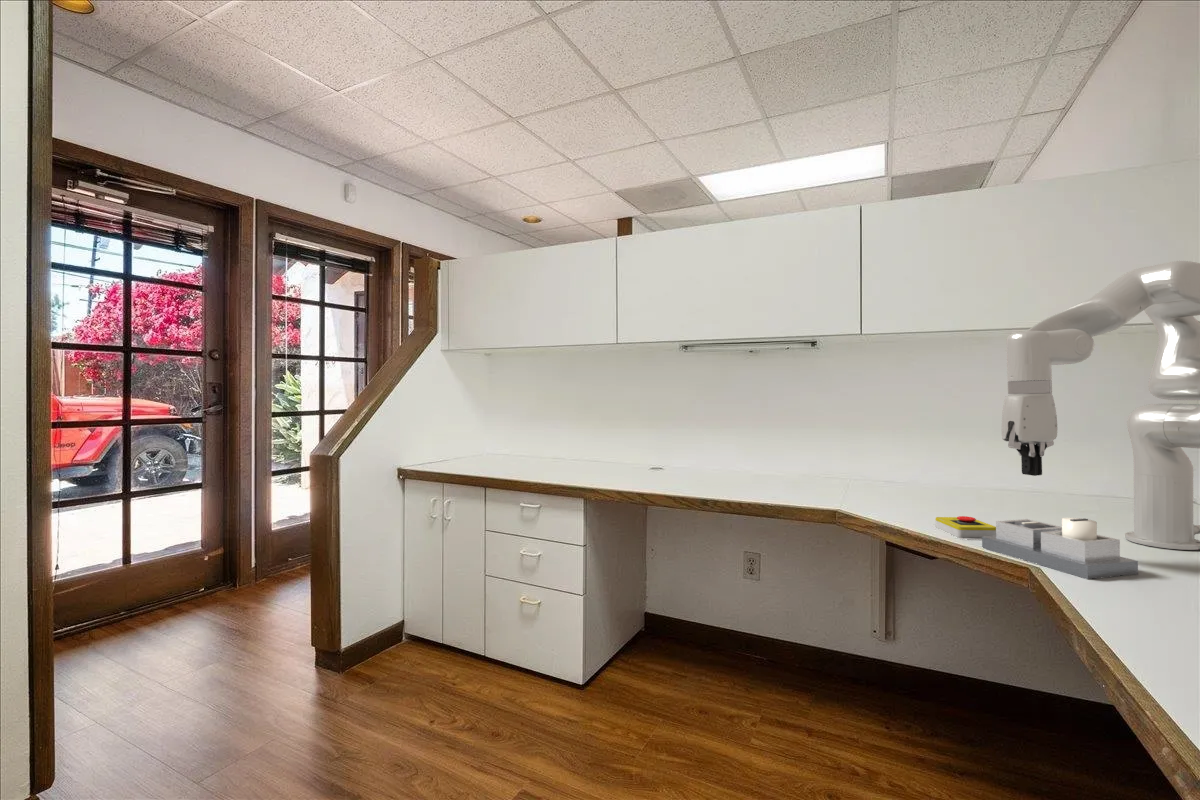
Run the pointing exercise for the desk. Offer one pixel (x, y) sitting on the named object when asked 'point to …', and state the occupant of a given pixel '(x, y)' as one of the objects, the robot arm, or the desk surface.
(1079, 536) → the knob ivory
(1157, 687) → the desk surface
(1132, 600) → the desk surface
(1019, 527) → the mount
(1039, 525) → the knob black
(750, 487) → the desk surface
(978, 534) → the emergency button
